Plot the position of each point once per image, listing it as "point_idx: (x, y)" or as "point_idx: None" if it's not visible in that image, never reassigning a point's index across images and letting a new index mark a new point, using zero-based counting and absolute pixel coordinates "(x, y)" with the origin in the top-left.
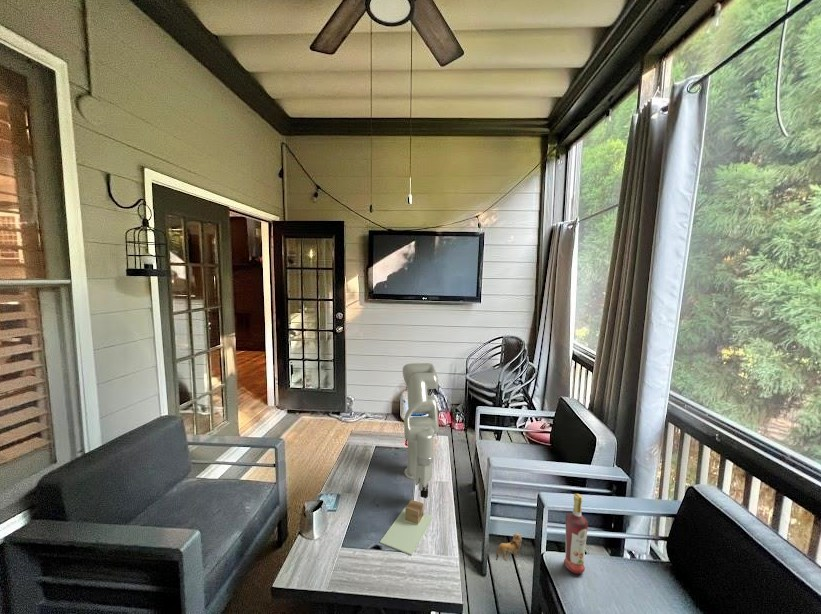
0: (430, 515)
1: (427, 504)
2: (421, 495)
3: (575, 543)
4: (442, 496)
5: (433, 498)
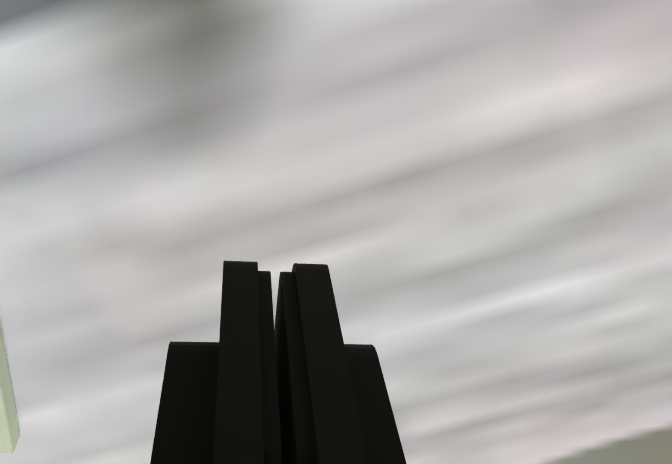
0: (4, 412)
1: (309, 261)
2: (171, 345)
3: None
4: (587, 397)
5: (510, 300)
